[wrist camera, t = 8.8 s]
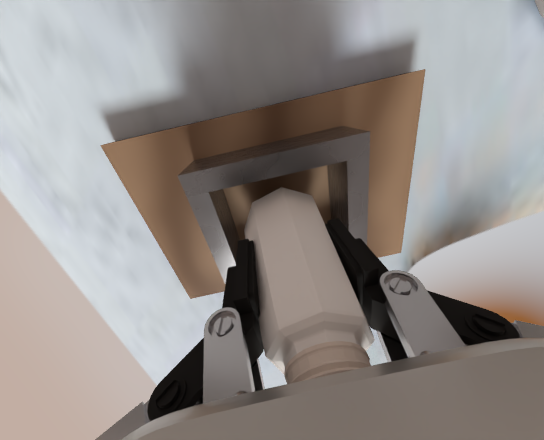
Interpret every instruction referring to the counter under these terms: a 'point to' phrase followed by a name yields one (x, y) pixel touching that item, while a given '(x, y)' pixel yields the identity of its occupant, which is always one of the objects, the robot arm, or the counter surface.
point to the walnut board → (264, 129)
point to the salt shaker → (304, 291)
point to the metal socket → (272, 163)
